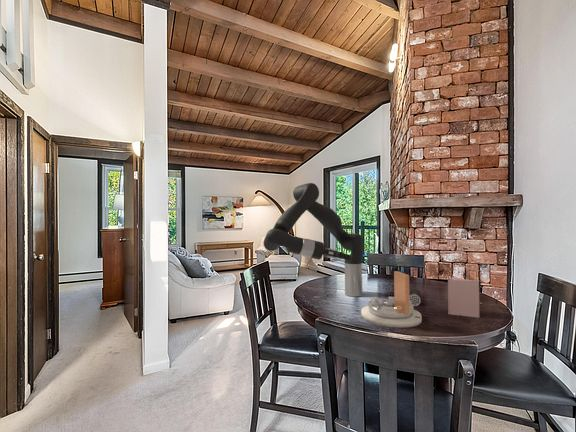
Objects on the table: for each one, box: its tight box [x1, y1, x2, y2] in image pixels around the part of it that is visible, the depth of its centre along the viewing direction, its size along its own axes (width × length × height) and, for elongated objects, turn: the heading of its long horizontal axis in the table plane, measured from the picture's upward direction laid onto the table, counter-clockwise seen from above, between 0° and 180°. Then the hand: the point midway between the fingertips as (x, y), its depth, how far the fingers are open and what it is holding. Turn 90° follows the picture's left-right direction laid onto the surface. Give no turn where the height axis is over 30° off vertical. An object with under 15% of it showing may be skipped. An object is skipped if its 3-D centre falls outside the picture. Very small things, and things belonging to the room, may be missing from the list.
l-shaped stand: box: [367, 270, 415, 319], centre depth 123 cm, size 22×18×18 cm
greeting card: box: [447, 276, 480, 319], centre depth 127 cm, size 11×7×15 cm, turn 32°
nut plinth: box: [360, 305, 423, 329], centre depth 125 cm, size 24×24×2 cm
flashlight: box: [409, 288, 422, 307], centre depth 148 cm, size 15×5×5 cm, turn 156°
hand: (346, 257), depth 128 cm, fingers open, 8 cm apart
